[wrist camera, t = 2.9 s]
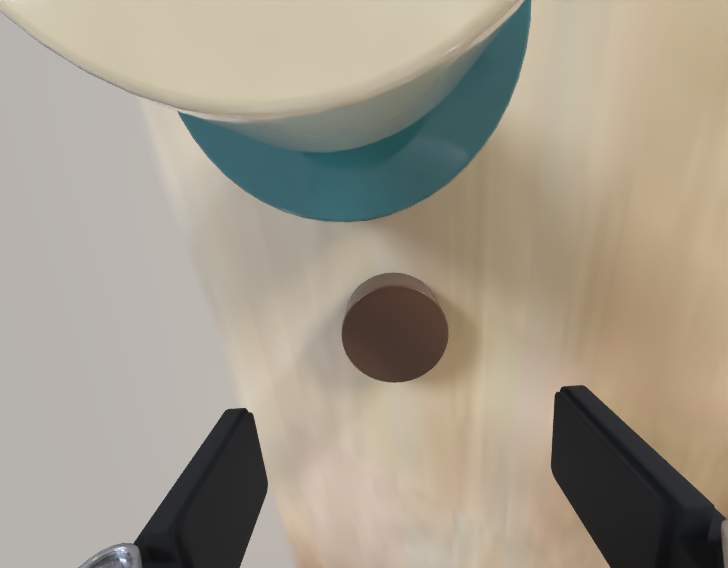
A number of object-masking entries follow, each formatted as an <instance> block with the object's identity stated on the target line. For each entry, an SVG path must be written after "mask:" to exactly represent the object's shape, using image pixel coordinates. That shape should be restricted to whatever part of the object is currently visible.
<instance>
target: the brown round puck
mask: <svg viewBox="0 0 728 568" xmlns="http://www.w3.org/2000/svg"><path fill="white" fill-rule="evenodd" d="M342 342H343V346H344V349H345V352H346V354H347V356H348V357H349V359H350V361H351V362H352V363H353V364H354V365H355V366H356V367H357V368H358V369H359V370H360V371H361V372H363V373H364V374H366V375H367V376H369V377H371V378H374V379H377V380H380V381H385V382H405V381H409V380H413V379H416V378H418V377H420V376H422V375H424V374H425V373H427V372H428V371H429V370H431V369H432V368H433V367H434V366H435V365H436V364H437V363H438V361H439V360H440V359H441V357H442V355H443V353H444V351H445V349H446V345H447V342H448V325H447V321H446V318H445V315H444V313H443V311H442V309H441V307H440V305H439V303H438V301H437V300H436V298H435V296H434V294H433V293H432V291H431V290H430V289H429V288H428V287H427V286H426V285H425V284H424V283H423V282H421V281H420V280H418V279H416V278H414V277H412V276H409V275H406V274H401V273H386V274H381V275H378V276H375V277H372V278H370V279H368V280H367V281H365V282H364V283H362V284H361V285H360V286H359V287H358V288H357V289H356V290H355V292H354V293H353V295H352V296H351V298H350V300H349V302H348V306H347V309H346V313H345V317H344V321H343V326H342Z"/></svg>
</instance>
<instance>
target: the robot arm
mask: <svg viewBox="0 0 728 568" xmlns="http://www.w3.org/2000/svg"><path fill="white" fill-rule="evenodd" d="M551 469H552V473H553V475H554V478H555V480H556V481H557V483H558V484H559V486H560V488H561V489H562V491H563V492H564V494H565V496H566V497H567V499H568V500H569V502H570V504H571V505H572V507H573V508H574V510H575V512H576V513H577V515H578V516H579V518H580V520H581V521H582V523H583V524H584V526H585V528H586V529H587V531H588V532H589V534H590V536H591V537H592V539H593V540H594V542H595V544H596V545H597V547H598V548H599V550H600V552H601V553H602V555H603V556H604V558H605V560H606V561H607V563H608V564H609V566H610V567H611V568H728V518H727V519H726V518H725V517H724V516H723V515H722V514H721V513H720V512H719V511H717V510H716V509H715V508H714V505H713V504H712V503H711V502H710V501H709V500H708V499H707V498H706V497H705V496H704V495H702V494H701V493H700V492H699V491H698V490H697V489H696V488H695V487H694V486H693V485H692V484H691V483H689V482H688V481H687V480H686V479H685V478H684V477H683V476H682V475H681V474H680V473H679V472H678V471H676V470H675V469H674V468H673V467H672V466H671V465H670V464H669V463H668V462H667V461H666V460H665V459H663V458H662V457H661V456H660V455H659V454H658V453H657V452H656V451H655V450H654V449H653V448H652V447H651V446H649V445H648V444H647V443H646V442H645V441H644V440H643V439H642V438H641V437H640V436H639V435H638V434H636V433H635V432H634V431H633V430H632V429H631V428H630V427H629V426H628V425H627V424H626V423H625V422H623V421H622V420H621V419H620V418H619V417H618V416H617V415H616V414H615V413H614V412H613V411H612V410H610V409H609V408H608V407H607V406H606V405H605V404H604V403H603V402H602V401H601V400H600V399H599V398H597V397H596V396H595V395H594V394H593V393H592V392H591V391H590V390H589V389H588V388H587V387H585V386H583V385H578V386H564V387H561V389H560V392H556V394H555V401H554V419H553V438H552V456H551ZM267 488H268V481H267V476H266V471H265V466H264V462H263V457H262V453H261V448H260V443H259V439H258V434H257V429H256V425H255V420H254V416H253V414H252V413H251V412H250V413H248V411H247V409H246V408H238V409H228V410H226V411H225V412H224V413H223V415H222V416H221V418H220V419H219V421H218V422H217V424H216V425H215V426H214V428H213V429H212V431H211V432H210V434H209V435H208V437H207V438H206V440H205V441H204V442H203V444H202V445H201V447H200V448H199V450H198V451H197V453H196V454H195V455H194V457H193V458H192V460H191V461H190V463H189V464H188V465H187V467H186V468H185V470H184V471H183V473H182V474H181V475H180V477H179V478H178V480H177V481H176V483H175V484H174V486H173V487H172V489H171V490H170V491H169V493H168V494H167V496H166V497H165V499H164V500H163V502H162V503H161V504H160V506H159V507H158V509H157V510H156V512H155V513H154V515H153V516H152V517H151V519H150V520H149V522H148V523H147V525H146V526H145V528H144V529H143V530H142V532H141V533H140V535H139V536H138V538H137V539H136V541H135V542H134V544H132V543H121V544H117V545H113V546H111V547H109V548H107V549H104V550H102V551H100V552H99V553H97V554H96V555H94V556H93V557H91V558H90V559H88V560H87V561H86V562H85V563H83V564H82V565H81V566H80V567H79V568H240V565H241V562H242V559H243V557H244V554H245V551H246V548H247V546H248V543H249V540H250V537H251V535H252V532H253V529H254V526H255V524H256V521H257V518H258V515H259V513H260V510H261V507H262V504H263V502H264V499H265V496H266V493H267Z"/></svg>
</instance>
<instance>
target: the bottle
mask: <svg viewBox="0 0 728 568" xmlns="http://www.w3.org/2000/svg"><path fill="white" fill-rule="evenodd" d="M0 12H2V13H3V14H4V15H5V16H7V17H8V18H9V19H10V20H12V21H13V22H14V23H15V24H17V25H18V26H19V27H21V28H22V29H23V30H24V31H26V32H27V33H28V34H29V35H31V36H32V37H33V38H35V39H36V40H37V41H38V42H40V43H41V44H42V45H44V46H45V47H47V48H49V49H50V50H52V51H53V52H55V53H57V54H58V55H60V56H62V57H63V58H65V59H66V60H68V61H69V62H71V63H73V64H74V65H76V66H77V67H79V68H80V69H82V70H84V71H86V72H87V73H89V74H91V75H93V76H95V77H98V78H100V79H102V80H104V81H106V82H108V83H110V84H112V85H114V86H117V87H119V88H121V89H123V90H125V91H127V92H129V93H132V94H134V95H136V96H139V97H142V98H144V99H147V100H150V101H152V102H155V103H158V104H160V105H163V106H166V107H168V108H171V109H173V110H176V111H178V113H179V115H180V117H181V119H182V121H183V122H184V124H185V126H186V127H187V129H188V130H189V132H190V134H191V135H192V137H193V139H194V140H195V141H196V143H197V144H198V145H199V147H200V148H201V149H202V150H203V152H204V153H205V154H206V155H207V157H208V158H209V159H210V160H211V161H212V162H213V163H214V164H215V165H216V166H217V167H218V168H219V169H220V170H221V171H222V172H223V173H224V174H225V175H226V176H227V177H228V178H229V179H230V180H232V181H233V182H234V183H235V184H237V185H238V186H239V187H240V188H242V189H243V190H244V191H246V192H247V193H249V194H251V195H252V196H254V197H255V198H257V199H259V200H260V201H262V202H263V203H266V204H268V205H270V206H272V207H274V208H277V209H279V210H281V211H283V212H286V213H290V214H293V215H296V216H299V217H302V218H307V219H313V220H319V221H324V222H356V221H367V220H372V219H376V218H380V217H385V216H389V215H391V214H394V213H397V212H399V211H402V210H405V209H407V208H410V207H412V206H414V205H415V204H417V203H419V202H421V201H423V200H425V199H427V198H429V197H430V196H432V195H433V194H434V193H436V192H437V191H439V190H440V189H442V188H443V187H444V186H446V185H447V184H448V183H450V182H451V181H452V180H453V179H454V178H455V177H456V176H457V175H458V174H459V173H461V172H462V171H463V170H464V169H465V168H466V167H467V166H468V165H469V163H470V162H471V161H472V160H473V159H474V158H475V157H476V155H477V154H478V153H479V152H480V151H481V150H482V148H483V147H484V145H485V144H486V142H487V141H488V139H489V138H490V136H491V135H492V134H493V132H494V131H495V129H496V128H497V126H498V124H499V122H500V120H501V118H502V116H503V114H504V112H505V110H506V108H507V107H508V105H509V102H510V100H511V97H512V94H513V92H514V89H515V87H516V84H517V82H518V79H519V76H520V72H521V68H522V64H523V60H524V57H525V53H526V48H527V41H528V34H529V28H530V20H531V0H0Z"/></svg>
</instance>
